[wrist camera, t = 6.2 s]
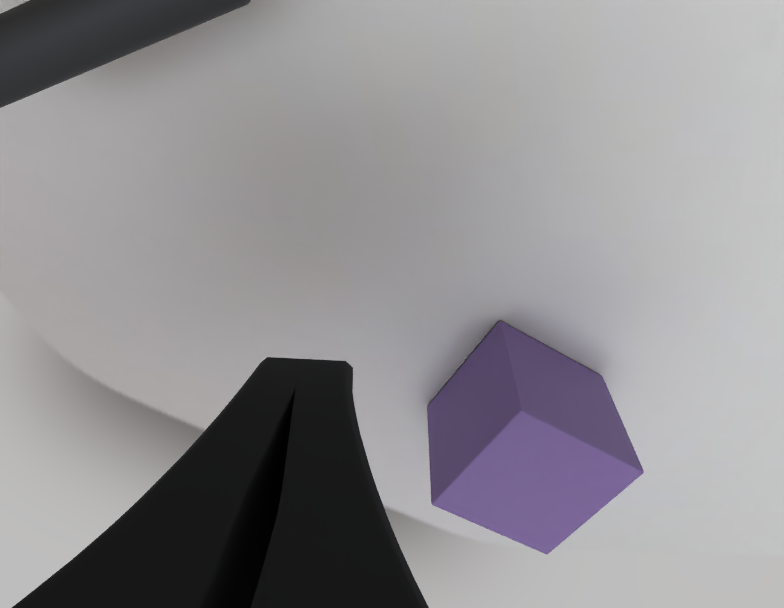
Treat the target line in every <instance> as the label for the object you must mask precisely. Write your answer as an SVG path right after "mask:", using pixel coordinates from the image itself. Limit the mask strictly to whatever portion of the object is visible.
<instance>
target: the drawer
mask: <svg viewBox="0 0 784 608" xmlns="http://www.w3.org/2000/svg"><path fill="white" fill-rule="evenodd" d="M249 2H250V0H30V1H28V2H25V3H23V4H21V5H19V6H17V7H14V8H12V9H10V10H8V11H6V12H3V13H1V14H0V108H1V107H4V106H6V105H8V104H11V103H13V102H15V101H18V100H20V99H23V98H25V97H27V96H30V95H32V94H35V93H37V92H39V91H42V90H44V89H46V88H49V87H51V86H54V85H56V84H58V83H61V82H63V81H66V80H68V79H70V78H73V77H75V76H77V75H80V74H82V73H85V72H87V71H89V70H92V69H94V68H97V67H99V66H101V65H104V64H106V63H109V62H111V61H113V60H116V59H118V58H120V57H123V56H125V55H128V54H130V53H132V52H135V51H137V50H140V49H142V48H144V47H147V46H149V45H151V44H154V43H156V42H159V41H161V40H163V39H166V38H168V37H171V36H173V35H175V34H178V33H180V32H182V31H185V30H187V29H190V28H192V27H194V26H197V25H199V24H202V23H204V22H206V21H209V20H211V19H213V18H216V17H218V16H221V15H223V14H225V13H228V12H230V11H233V10H235V9H237V8H240V7H242V6H244V5H247V4H248V3H249Z"/></svg>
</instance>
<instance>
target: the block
mask: <svg viewBox="0 0 784 608" xmlns="http://www.w3.org/2000/svg"><path fill="white" fill-rule="evenodd" d="M427 413H428V436H429V458H430V481H431V503H432V505H434V506H436V507H439V508H441V509H443V510H446V511H448V512H450V513H453V514H455V515H457V516H459V517H462V518H464V519H466V520H469V521H471V522H473V523H476V524H478V525H480V526H483V527H485V528H487V529H489V530H492V531H494V532H496V533H499V534H501V535H503V536H506V537H508V538H510V539H512V540H515V541H517V542H519V543H522V544H524V545H526V546H529V547H531V548H533V549H536V550H538V551H540V552H542V553H545V554H548V553H549V552H551V551H552V550H553V549H554V548H555V547H557V546H558V545H559V544H560V543H561V542H562V541H564V540H565V539H566V538H567V537H568V536H570V535H571V534H572V533H573V532H574V531H575V530H577V529H578V528H579V527H580V526H581V525H583V524H584V523H585V522H586V521H587V520H588V519H590V518H591V517H592V516H593V515H594V514H595V513H597V512H598V511H599V510H600V509H601V508H603V507H604V506H605V505H606V504H607V503H608V502H610V501H611V500H612V499H613V498H614V497H616V496H617V495H618V494H619V493H620V492H621V491H623V490H624V489H625V488H626V487H627V486H629V485H630V484H631V483H632V482H633V481H634V480H636V479H637V478H638V477H639V476H640V475H642V474H643V472H644V471H643V468H642V466H641V464H640V462H639V459H638V457H637V455H636V452H635V450H634V448H633V446H632V443H631V441H630V439H629V436H628V434H627V432H626V429H625V427H624V425H623V423H622V420H621V418H620V416H619V413H618V411H617V409H616V407H615V404H614V402H613V400H612V397H611V395H610V393H609V390H608V388H607V386H606V384H605V381H604V379H603V377H602V376H601V375H599V374H597V373H595V372H594V371H592V370H590V369H588V368H586V367H584V366H583V365H581V364H579V363H577V362H575V361H573V360H571V359H570V358H568V357H566V356H564V355H562V354H560V353H559V352H557V351H555V350H553V349H551V348H549V347H548V346H546V345H544V344H542V343H540V342H538V341H537V340H535V339H533V338H531V337H529V336H527V335H526V334H524V333H522V332H520V331H518V330H516V329H515V328H513V327H511V326H509V325H507V324H505V323H504V322H502V321H499V322H498V323H497V324H496V325H495V327H494V328H493V329H492V330H491V331H490V333H489V334H488V335H487V336H486V337H485V339H484V340H483V341H482V342H481V343H480V345H479V346H478V347H477V348H476V349H475V350H474V352H473V353H472V354H471V355H470V356H469V358H468V359H467V360H466V361H465V362H464V364H463V365H462V366H461V367H460V368H459V370H458V371H457V372H456V373H455V374H454V375H453V377H452V378H451V379H450V380H449V381H448V383H447V384H446V385H445V386H444V387H443V389H442V390H441V391H440V392H439V393H438V395H437V396H436V397H435V398H434V399H433V401H432V402H431V403H430V404H429V405H428V407H427Z"/></svg>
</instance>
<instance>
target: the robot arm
mask: <svg viewBox="0 0 784 608" xmlns="http://www.w3.org/2000/svg"><path fill="white" fill-rule="evenodd" d="M352 386H353V368H352V367H351V366H350V365H349V364H348V363H347V362H346V361H332V360H312V359H292V358H271V357H267V358H266V359H265V360H263V361H262V362H261V363H260V364H259V366H258V367H257V368H256V370H255V371H254V372H253V373H252V375H251V376H250V377H249V379H248V380H247V381H246V383H245V384H244V385H243V386H242V388H241V389H240V390H239V391H238V393H237V394H236V395H235V396H234V398H233V399H232V400H231V401H230V402H229V404H228V405H227V406H226V407H225V408H224V410H223V411H222V412H221V413H220V414H219V416H218V417H217V418H216V419H215V420H214V421H213V422H212V423H211V425H210V426H209V427H208V428H207V429H206V430H205V431H204V432H203V434H202V435H201V436H200V437H199V438H198V439H197V440H196V442H195V443H194V444H193V445H192V446H191V447H190V448H189V449H188V450H187V452H186V453H185V454H184V455H183V456H182V457H181V458H180V459H179V460H178V461H177V462H176V463H175V464H174V465H173V466H172V467H171V468H170V469H169V470H168V471H167V472H166V473H165V474H164V475H163V476H162V477H161V478H160V479H159V480H158V481H157V482H156V483H155V484H154V485H153V486H152V487H151V488H150V490H148V491H147V492H146V493H145V494H144V495H143V496H142V497H141V498H140V499H139V500H138V501H137V502H136V503H135V504H134V505H133V506H132V507H131V508H130V509H129V510H128V511H127V512H125V514H123V515H122V516H121V517H120V518H119V519H118V520H117V521H116V522H115V523H114V524H113V525H112V526H110V527H109V528H108V529H107V530H106V531H105V532H104V533H102V534H101V535H100V536H99V537H98V538H97V539H95V540H94V541H93V542H92V543H91V544H90V545H89V546H87V547H86V548H85V549H84V550H83V551H82V552H80V553H79V554H78V555H77V556H76V557H75V558H73V560H71V561H70V562H69V563H67V564H66V565H65V566H64V567H63V568H61V569H60V570H59V571H57V572H56V573H55V574H54V575H52V576H51V577H50V578H49V579H48V580H46V581H45V582H44V583H42V584H41V585H40V586H39V587H38V588H36V589H35V590H34V591H32V592H31V593H30V594H29V595H27V596H26V597H25V598H24V599H22V600H21V601H20V602H19V603H17V604H16V605H15V606H13V607H12V608H429V607H428V605H427V604H426V601H425V599H424V598H423V595H422V593H421V591H420V589H419V587H418V585H417V583H416V581H415V579H414V577H413V575H412V573H411V571H410V568H409V566H408V564H407V562H406V560H405V557H404V555H403V553H402V551H401V549H400V547H399V544H398V542H397V539H396V537H395V535H394V532H393V530H392V528H391V525H390V522H389V520H388V517H387V515H386V512H385V509H384V507H383V504H382V501H381V499H380V496H379V493H378V491H377V488H376V485H375V482H374V479H373V476H372V473H371V470H370V467H369V463H368V460H367V456H366V453H365V449H364V446H363V442H362V439H361V435H360V431H359V427H358V422H357V417H356V412H355V407H354V401H353V393H352Z"/></svg>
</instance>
